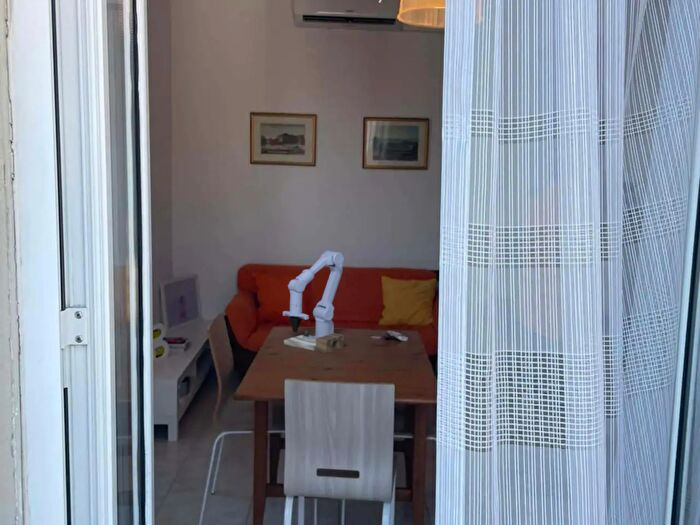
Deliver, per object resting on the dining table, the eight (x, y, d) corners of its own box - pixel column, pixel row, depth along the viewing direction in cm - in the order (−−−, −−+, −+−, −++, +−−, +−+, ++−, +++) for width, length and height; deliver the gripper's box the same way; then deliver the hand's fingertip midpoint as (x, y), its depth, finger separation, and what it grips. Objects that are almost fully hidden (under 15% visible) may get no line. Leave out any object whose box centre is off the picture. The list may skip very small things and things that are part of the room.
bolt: (306, 338, 293) (306, 330, 292) (323, 342, 287) (323, 333, 286) (302, 339, 290) (302, 331, 290) (319, 343, 284) (319, 334, 284)
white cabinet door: (302, 338, 301) (302, 326, 300) (343, 347, 287) (343, 335, 287) (283, 344, 289) (284, 331, 289) (326, 353, 276) (326, 340, 275)
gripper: (279, 303, 293) (278, 330, 295) (302, 307, 285) (301, 335, 287) (288, 301, 299) (287, 328, 301) (311, 305, 291) (310, 333, 293)
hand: (295, 331), depth 294 cm, fingers closed
